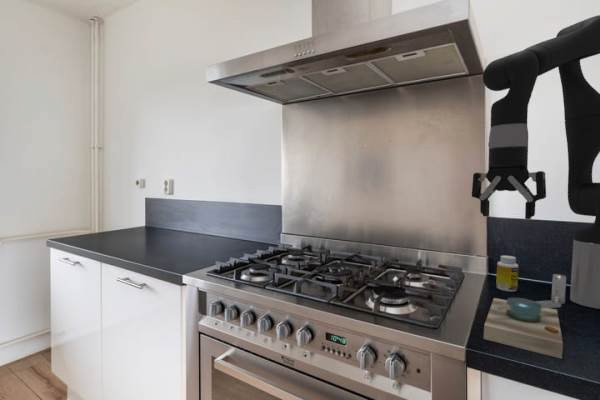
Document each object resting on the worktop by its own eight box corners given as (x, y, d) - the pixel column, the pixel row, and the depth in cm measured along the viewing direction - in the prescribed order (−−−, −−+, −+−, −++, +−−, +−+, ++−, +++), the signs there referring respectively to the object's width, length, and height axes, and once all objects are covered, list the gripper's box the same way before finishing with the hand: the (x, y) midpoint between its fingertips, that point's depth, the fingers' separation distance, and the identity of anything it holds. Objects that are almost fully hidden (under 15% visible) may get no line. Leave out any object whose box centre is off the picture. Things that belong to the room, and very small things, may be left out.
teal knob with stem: (506, 323, 69) (508, 283, 69) (484, 311, 76) (486, 274, 75) (575, 318, 72) (578, 279, 71) (549, 307, 78) (551, 271, 78)
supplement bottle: (512, 293, 98) (513, 259, 97) (492, 288, 102) (494, 256, 102) (520, 290, 101) (522, 257, 100) (501, 285, 105) (502, 253, 105)
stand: (493, 309, 86) (493, 295, 85) (556, 322, 78) (557, 307, 78) (483, 338, 69) (484, 322, 69) (561, 358, 62) (563, 340, 62)
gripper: (550, 144, 71) (548, 218, 73) (480, 149, 82) (478, 213, 83) (542, 142, 66) (539, 221, 67) (468, 148, 77) (467, 216, 78)
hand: (506, 217), depth 75 cm, fingers open, 8 cm apart
